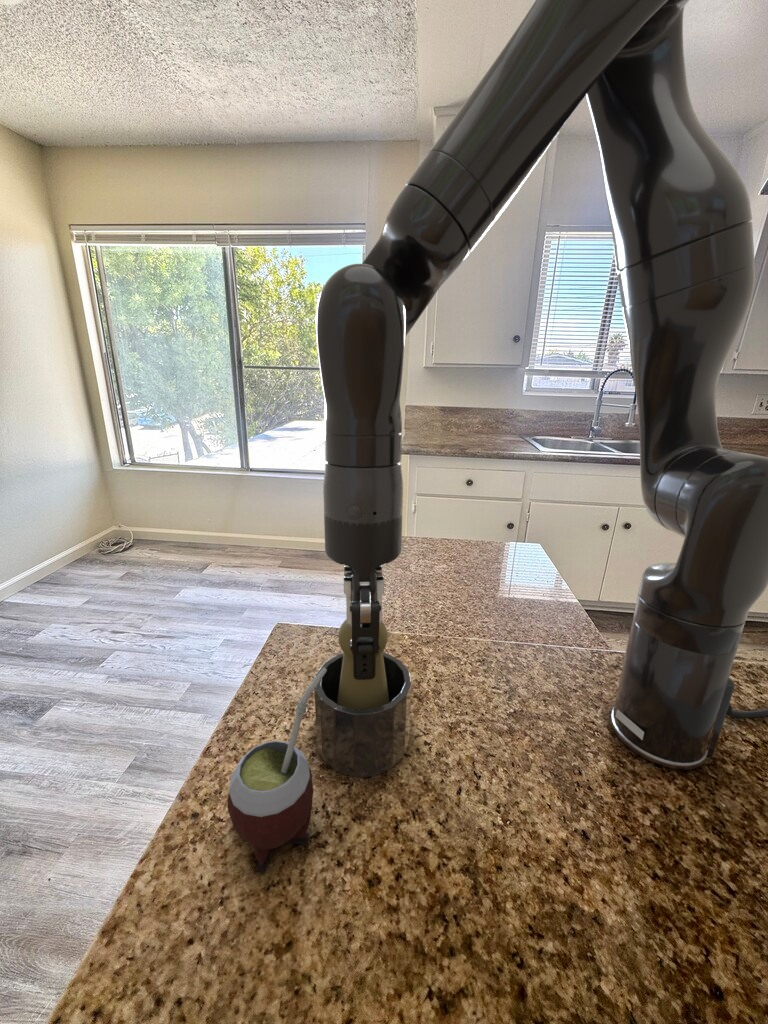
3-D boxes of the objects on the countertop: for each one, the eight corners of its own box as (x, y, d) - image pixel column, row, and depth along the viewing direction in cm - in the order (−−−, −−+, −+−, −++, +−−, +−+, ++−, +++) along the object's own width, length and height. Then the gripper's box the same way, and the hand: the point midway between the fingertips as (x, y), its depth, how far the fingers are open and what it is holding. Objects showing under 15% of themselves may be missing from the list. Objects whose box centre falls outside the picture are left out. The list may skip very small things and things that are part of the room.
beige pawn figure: (384, 733, 43) (385, 641, 40) (328, 723, 45) (325, 634, 41) (394, 693, 49) (396, 610, 46) (345, 685, 50) (343, 603, 47)
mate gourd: (217, 869, 35) (196, 723, 30) (260, 784, 42) (248, 656, 38) (303, 887, 34) (294, 738, 29) (331, 796, 41) (328, 666, 37)
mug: (414, 774, 43) (417, 711, 41) (313, 780, 43) (310, 716, 40) (399, 682, 57) (401, 631, 54) (322, 685, 56) (320, 633, 54)
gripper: (412, 532, 33) (406, 706, 38) (394, 489, 47) (391, 622, 52) (318, 534, 33) (324, 710, 38) (327, 490, 47) (331, 623, 52)
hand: (363, 658), depth 45 cm, fingers closed on beige pawn figure, 5 cm apart
